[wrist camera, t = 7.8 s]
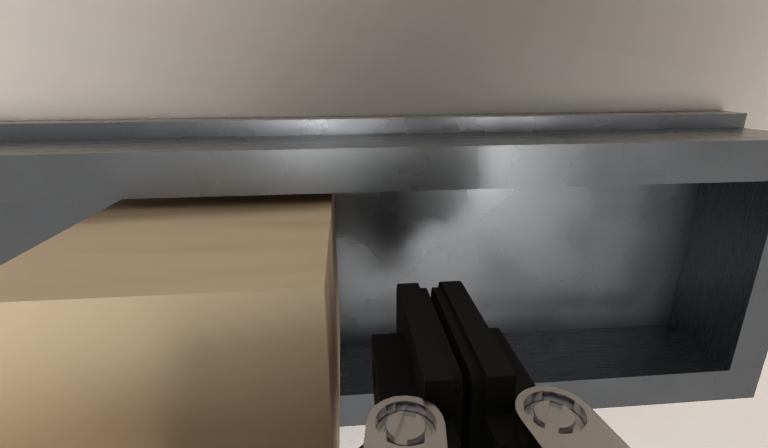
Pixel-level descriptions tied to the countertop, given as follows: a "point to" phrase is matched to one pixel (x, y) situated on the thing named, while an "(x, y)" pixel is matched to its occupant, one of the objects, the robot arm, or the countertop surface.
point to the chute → (474, 228)
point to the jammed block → (176, 328)
